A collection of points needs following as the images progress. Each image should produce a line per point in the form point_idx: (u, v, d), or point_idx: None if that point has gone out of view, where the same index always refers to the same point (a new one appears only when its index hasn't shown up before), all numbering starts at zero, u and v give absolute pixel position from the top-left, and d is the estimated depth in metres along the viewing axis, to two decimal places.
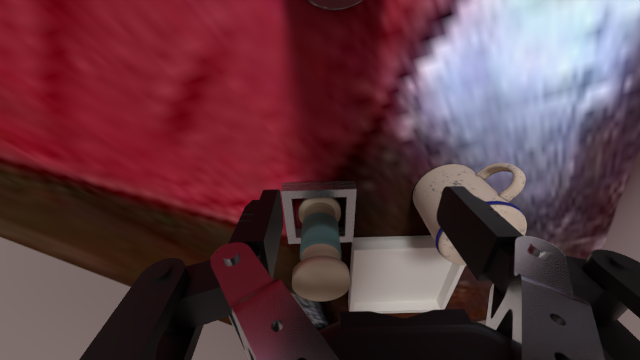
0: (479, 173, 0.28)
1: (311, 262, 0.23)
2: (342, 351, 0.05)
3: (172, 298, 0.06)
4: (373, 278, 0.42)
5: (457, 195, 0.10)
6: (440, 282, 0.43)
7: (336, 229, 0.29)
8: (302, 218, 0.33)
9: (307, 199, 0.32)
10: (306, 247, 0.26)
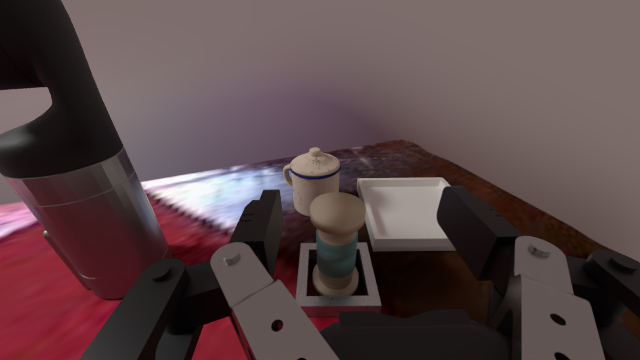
0: None
1: (311, 216, 0.25)
2: (342, 351, 0.05)
3: (171, 298, 0.06)
4: (426, 227, 0.39)
5: (457, 195, 0.10)
6: (411, 188, 0.49)
7: None
8: (341, 291, 0.28)
9: (315, 286, 0.29)
10: (323, 241, 0.26)
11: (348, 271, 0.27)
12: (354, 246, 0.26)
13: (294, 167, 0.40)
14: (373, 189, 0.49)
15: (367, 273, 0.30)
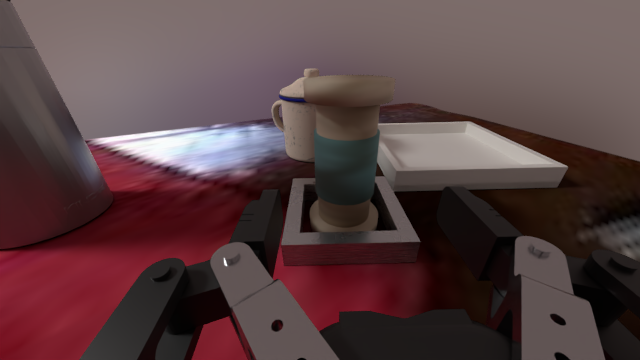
0: None
1: (304, 90, 0.15)
2: (342, 351, 0.05)
3: (171, 298, 0.06)
4: (461, 166, 0.29)
5: (457, 195, 0.10)
6: (432, 134, 0.40)
7: None
8: (354, 229, 0.19)
9: (314, 225, 0.20)
10: (324, 137, 0.16)
11: (365, 194, 0.18)
12: (375, 147, 0.16)
13: (284, 91, 0.30)
14: (385, 136, 0.40)
15: (391, 205, 0.20)
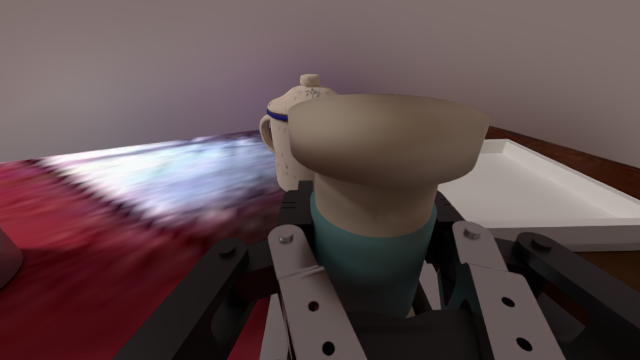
0: None
1: (290, 134, 0.07)
2: None
3: (231, 275, 0.07)
4: (516, 210, 0.21)
5: None
6: None
7: None
8: None
9: None
10: (331, 224, 0.08)
11: (403, 312, 0.10)
12: (429, 240, 0.08)
13: (273, 105, 0.22)
14: None
15: (440, 309, 0.12)
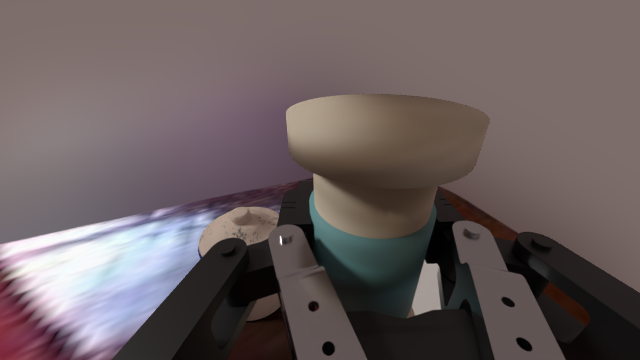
0: None
1: (289, 135, 0.07)
2: None
3: (231, 275, 0.07)
4: None
5: None
6: None
7: None
8: None
9: None
10: (330, 225, 0.08)
11: (403, 314, 0.10)
12: (428, 241, 0.08)
13: (201, 246, 0.23)
14: None
15: None
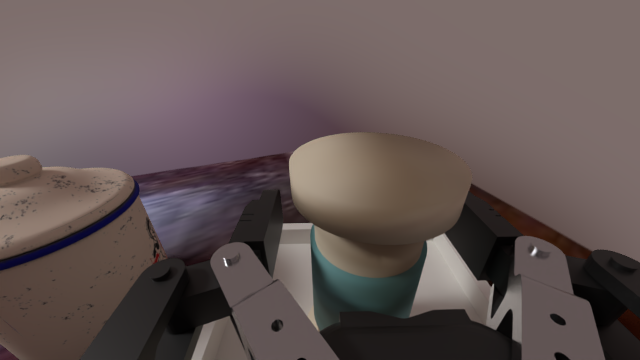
0: None
1: (292, 185, 0.08)
2: (342, 351, 0.05)
3: (172, 298, 0.06)
4: None
5: None
6: None
7: None
8: None
9: None
10: (329, 262, 0.09)
11: None
12: (420, 275, 0.09)
13: None
14: (278, 251, 0.21)
15: None
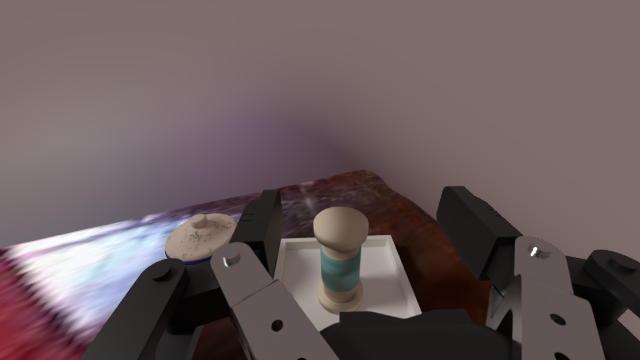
0: None
1: (315, 232, 0.25)
2: (342, 351, 0.05)
3: (171, 298, 0.06)
4: None
5: (457, 195, 0.10)
6: None
7: None
8: (346, 304, 0.29)
9: (320, 299, 0.30)
10: (327, 256, 0.26)
11: (353, 285, 0.28)
12: (358, 260, 0.27)
13: (167, 245, 0.29)
14: (301, 253, 0.38)
15: None
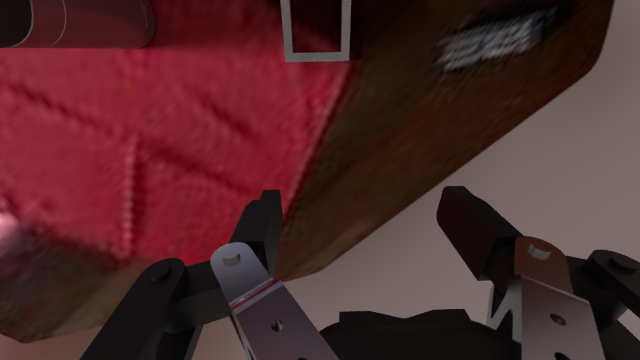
0: None
1: None
2: (342, 351, 0.05)
3: (171, 298, 0.06)
4: None
5: (457, 195, 0.10)
6: None
7: None
8: None
9: None
10: None
11: None
12: None
13: None
14: None
15: (344, 27, 0.33)
